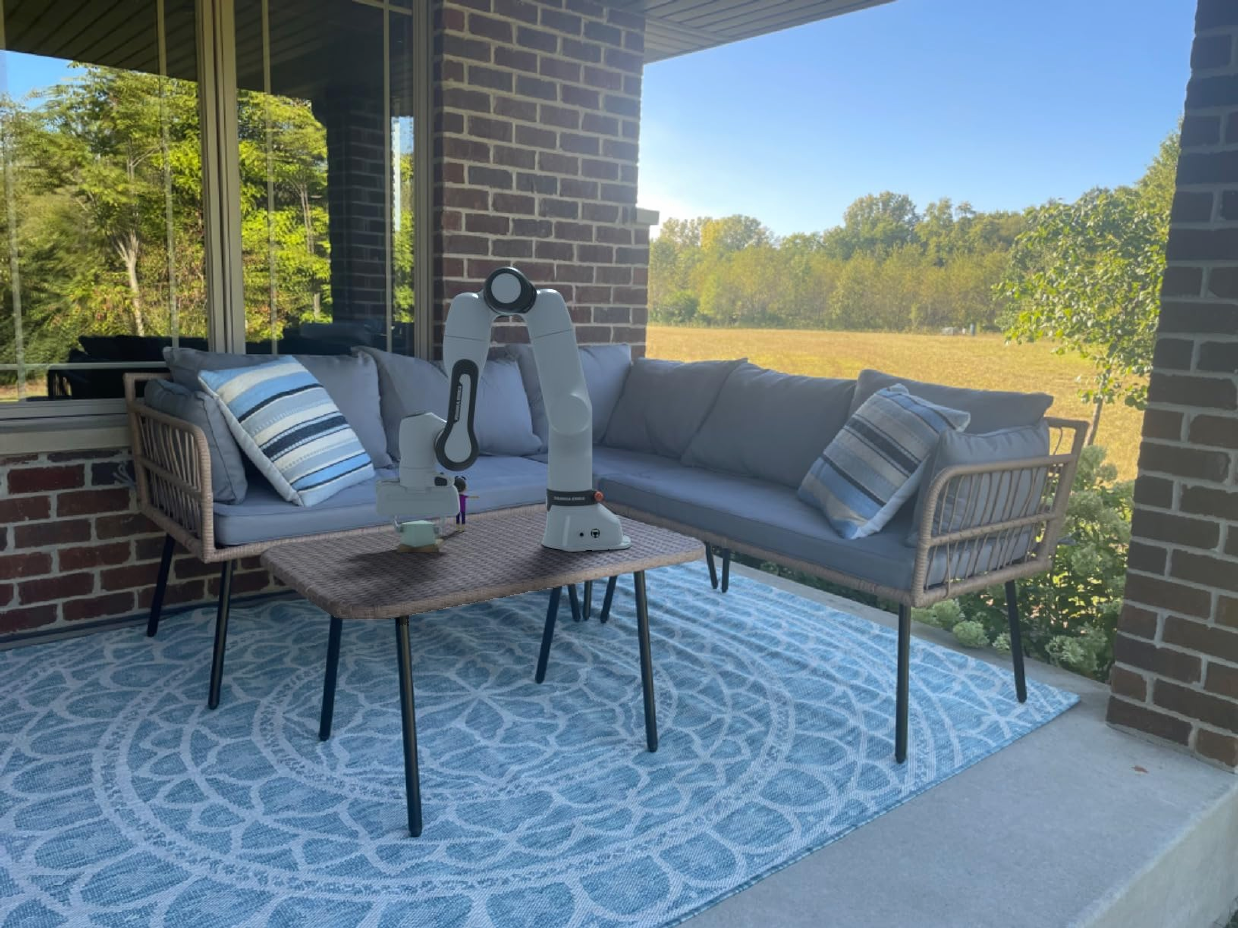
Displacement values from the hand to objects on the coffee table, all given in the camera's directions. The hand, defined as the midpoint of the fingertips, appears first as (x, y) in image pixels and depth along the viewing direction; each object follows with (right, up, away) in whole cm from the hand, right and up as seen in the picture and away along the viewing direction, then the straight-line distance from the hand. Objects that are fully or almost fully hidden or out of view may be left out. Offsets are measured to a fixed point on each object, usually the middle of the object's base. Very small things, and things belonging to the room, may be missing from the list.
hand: (418, 533), depth 220 cm
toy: (+7, -1, +20) cm, 21 cm away
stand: (0, -4, 0) cm, 4 cm away
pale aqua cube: (0, -3, +1) cm, 3 cm away
